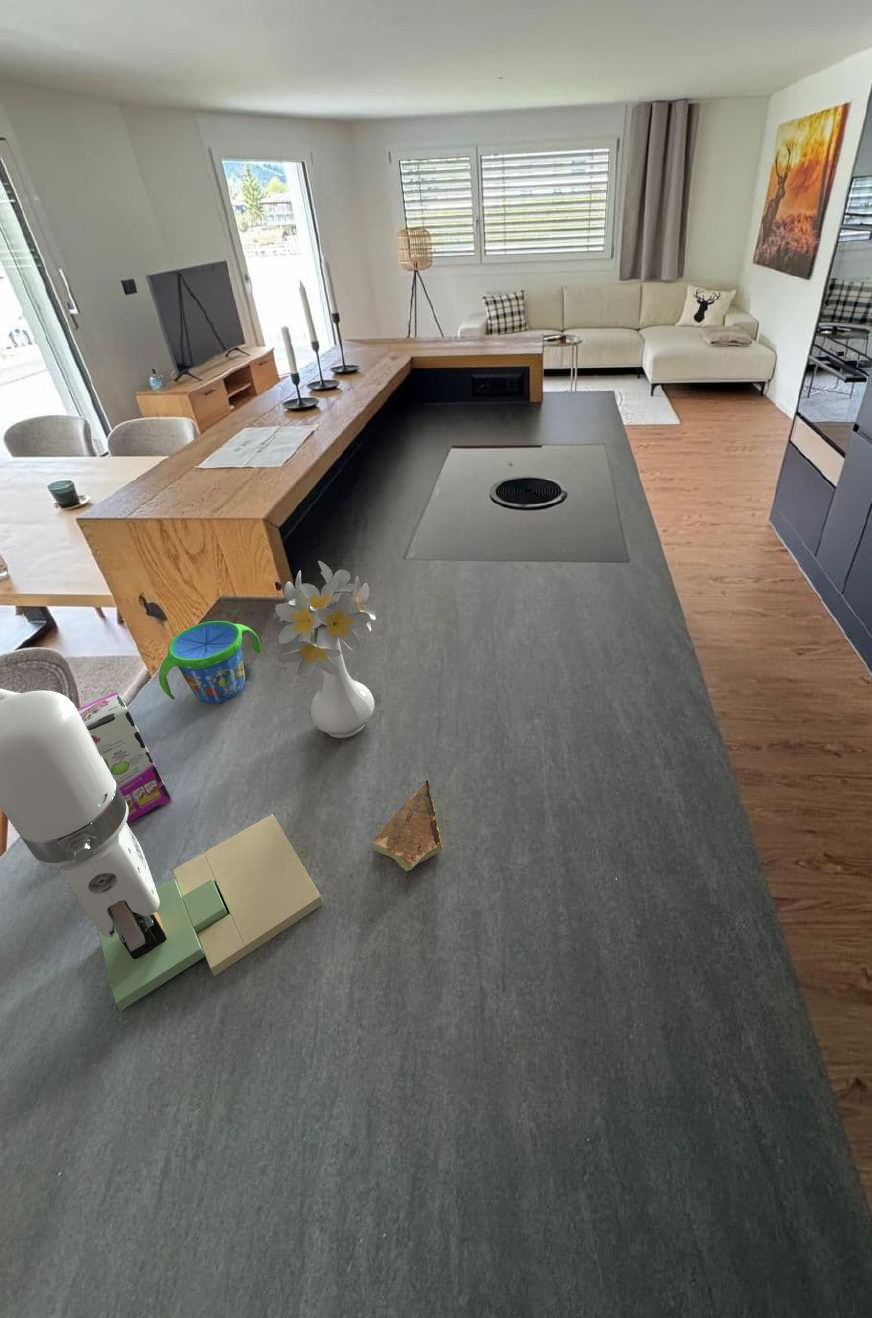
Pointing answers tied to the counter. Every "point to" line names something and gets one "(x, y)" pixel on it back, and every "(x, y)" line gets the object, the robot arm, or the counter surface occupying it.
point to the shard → (411, 832)
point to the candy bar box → (125, 755)
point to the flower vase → (329, 647)
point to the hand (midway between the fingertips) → (145, 932)
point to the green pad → (173, 955)
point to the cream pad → (250, 890)
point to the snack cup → (209, 660)
